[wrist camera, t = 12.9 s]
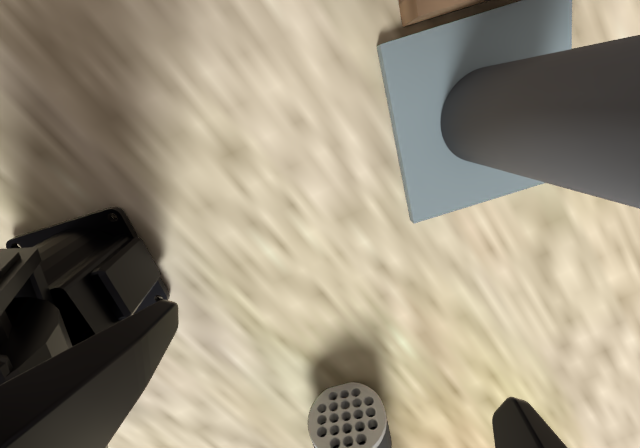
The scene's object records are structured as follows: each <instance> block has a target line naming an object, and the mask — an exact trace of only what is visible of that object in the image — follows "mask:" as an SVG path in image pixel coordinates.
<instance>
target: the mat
mask: <svg viewBox="0 0 640 448" xmlns="http://www.w3.org/2000/svg"><path fill="white" fill-rule="evenodd" d="M571 46H572V0H521V1H518V2H515V3H512V4H509V5H505V6H502V7H499V8H496V9H492V10H489V11H486V12H483V13H480V14H476V15H473V16H470V17H467V18H463V19H460V20H457V21H454V22H451V23H447V24H444V25H441V26H438V27H434V28H431V29H428V30H425V31H422V32H418V33H415V34H412V35H409V36H405V37H402V38H399V39H396V40H393V41H389V42H386V43H383V44H380V45H378V46H377V50H378V55H379V61H380V66H381V71H382V76H383V81H384V86H385V92H386V97H387V102H388V107H389V112H390V118H391V123H392V128H393V133H394V138H395V143H396V149H397V154H398V159H399V164H400V169H401V175H402V180H403V185H404V190H405V195H406V200H407V206H408V211H409V216H410V220H411V221H412V222H413V223H417V222H420V221H424V220H427V219H430V218H433V217H437V216H440V215H443V214H446V213H449V212H453V211H456V210H459V209H462V208H466V207H469V206H472V205H475V204H479V203H482V202H485V201H488V200H491V199H495V198H498V197H501V196H504V195H508V194H511V193H514V192H517V191H520V190H524V189H527V188H530V187H533V186H537V185H540V184H543V183H545V182H542V181H538V180H534V179H531V178H527V177H523V176H520V175H516V174H512V173H509V172H505V171H502V170H498V169H494V168H491V167H487V166H483V165H480V164H476V163H473V162H469V161H466V160H463V159H460V158H459V157H457V156H455V155H454V154H453V153H452V152H451V151H450V150H449V149H448V147H447V146H446V144H445V142H444V139H443V136H442V132H441V114H442V109H443V106H444V103H445V100H446V98H447V96H448V94H449V93H450V91H451V90H452V88H453V87H454V86H455V85H456V83H457V82H458V81H459V80H460V79H462V78H463V77H464V76H465V75H467V74H468V73H470V72H472V71H474V70H476V69H479V68H482V67H487V66H492V65H496V64H501V63H506V62H511V61H516V60H521V59H526V58H530V57H535V56H540V55H545V54H550V53H555V52H560V51H564V50H569V49H571Z"/></svg>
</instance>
